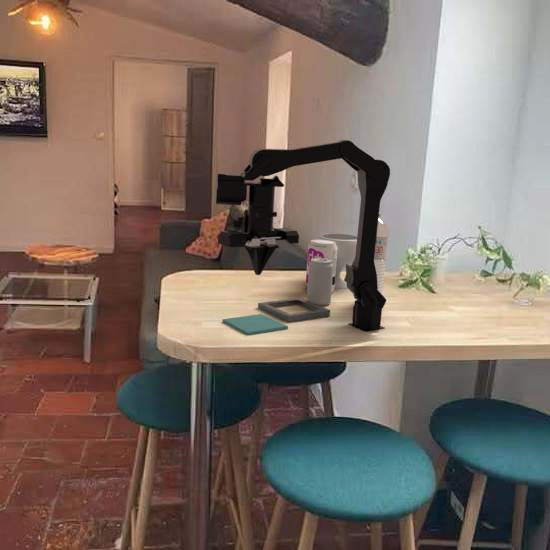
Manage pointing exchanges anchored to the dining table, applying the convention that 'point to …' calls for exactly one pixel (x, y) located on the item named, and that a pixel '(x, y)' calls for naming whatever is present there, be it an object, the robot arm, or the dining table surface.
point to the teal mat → (255, 324)
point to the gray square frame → (314, 313)
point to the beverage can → (320, 281)
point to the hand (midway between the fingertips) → (257, 274)
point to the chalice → (342, 254)
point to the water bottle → (380, 253)
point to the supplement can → (322, 255)
